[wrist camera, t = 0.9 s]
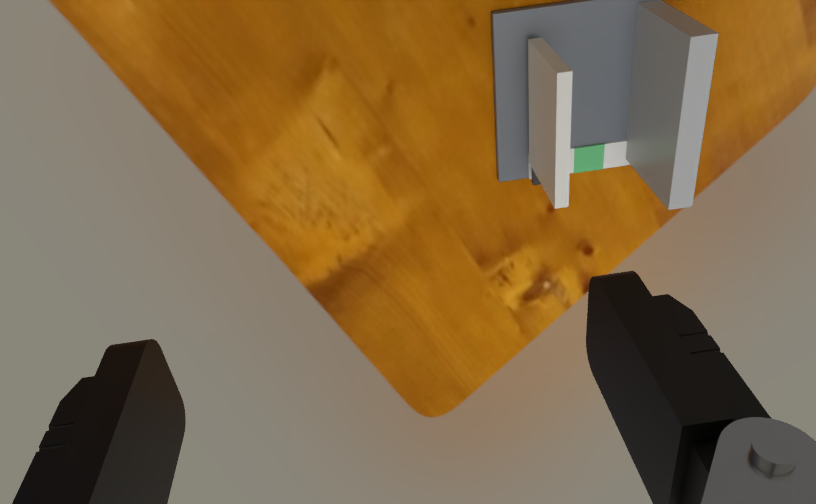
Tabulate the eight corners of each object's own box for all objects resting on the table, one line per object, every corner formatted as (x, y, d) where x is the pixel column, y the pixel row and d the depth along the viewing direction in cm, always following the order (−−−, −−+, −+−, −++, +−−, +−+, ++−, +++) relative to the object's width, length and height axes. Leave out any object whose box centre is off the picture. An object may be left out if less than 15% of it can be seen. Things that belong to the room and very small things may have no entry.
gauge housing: (491, 11, 39) (521, 50, 32) (658, -12, 39) (722, 22, 33) (497, 177, 45) (524, 237, 39) (642, 157, 45) (692, 213, 39)
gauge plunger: (528, 39, 39) (557, 73, 34) (541, 37, 39) (572, 71, 34) (529, 181, 44) (554, 229, 39) (541, 179, 44) (567, 227, 39)
